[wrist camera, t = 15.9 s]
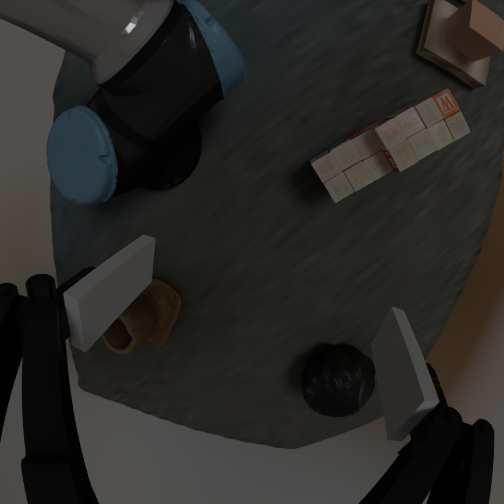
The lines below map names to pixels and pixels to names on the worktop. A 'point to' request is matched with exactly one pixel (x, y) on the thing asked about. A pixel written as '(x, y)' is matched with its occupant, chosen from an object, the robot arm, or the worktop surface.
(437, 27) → the birch base block
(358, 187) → the stack of blocks
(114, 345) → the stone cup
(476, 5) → the terracotta block
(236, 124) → the worktop surface
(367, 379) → the squash
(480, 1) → the off-white block
